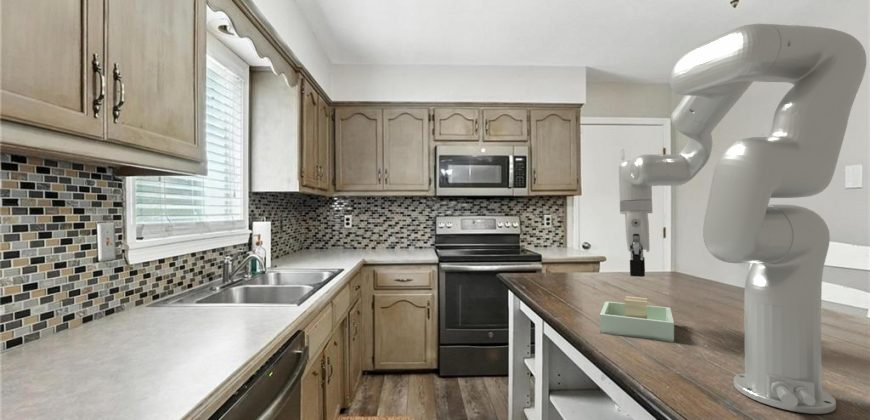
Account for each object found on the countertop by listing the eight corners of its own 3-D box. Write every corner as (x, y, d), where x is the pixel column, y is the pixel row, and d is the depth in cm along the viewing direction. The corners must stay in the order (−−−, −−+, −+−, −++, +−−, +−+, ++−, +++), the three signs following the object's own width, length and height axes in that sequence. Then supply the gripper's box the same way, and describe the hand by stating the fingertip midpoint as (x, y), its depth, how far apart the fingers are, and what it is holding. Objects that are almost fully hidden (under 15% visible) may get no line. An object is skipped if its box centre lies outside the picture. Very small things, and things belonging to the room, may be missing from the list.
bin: (674, 342, 91) (674, 323, 91) (599, 332, 98) (599, 314, 98) (670, 324, 105) (670, 307, 105) (605, 316, 112) (605, 301, 112)
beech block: (647, 330, 98) (647, 302, 98) (625, 327, 100) (625, 300, 100) (647, 324, 102) (647, 298, 102) (626, 322, 105) (625, 296, 105)
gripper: (652, 206, 92) (655, 279, 91) (651, 208, 107) (653, 271, 106) (617, 207, 95) (619, 277, 95) (621, 209, 111) (623, 269, 110)
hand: (637, 274), depth 101 cm, fingers open, 9 cm apart
